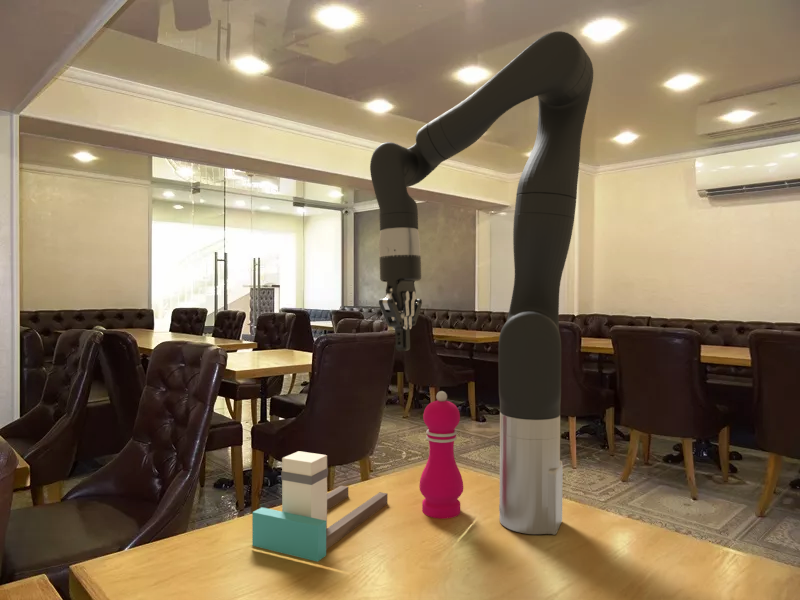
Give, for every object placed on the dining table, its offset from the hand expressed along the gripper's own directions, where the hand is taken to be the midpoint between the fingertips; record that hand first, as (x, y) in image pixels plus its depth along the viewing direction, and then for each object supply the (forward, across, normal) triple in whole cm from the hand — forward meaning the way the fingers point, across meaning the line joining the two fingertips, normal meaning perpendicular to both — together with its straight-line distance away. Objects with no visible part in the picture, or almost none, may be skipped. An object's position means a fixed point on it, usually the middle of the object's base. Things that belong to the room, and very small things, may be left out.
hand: (403, 350), depth 101 cm
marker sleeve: (+26, -24, +4) cm, 36 cm away
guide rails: (+26, -18, +5) cm, 32 cm away
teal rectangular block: (+26, -28, +4) cm, 39 cm away
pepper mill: (+26, -5, -9) cm, 28 cm away
